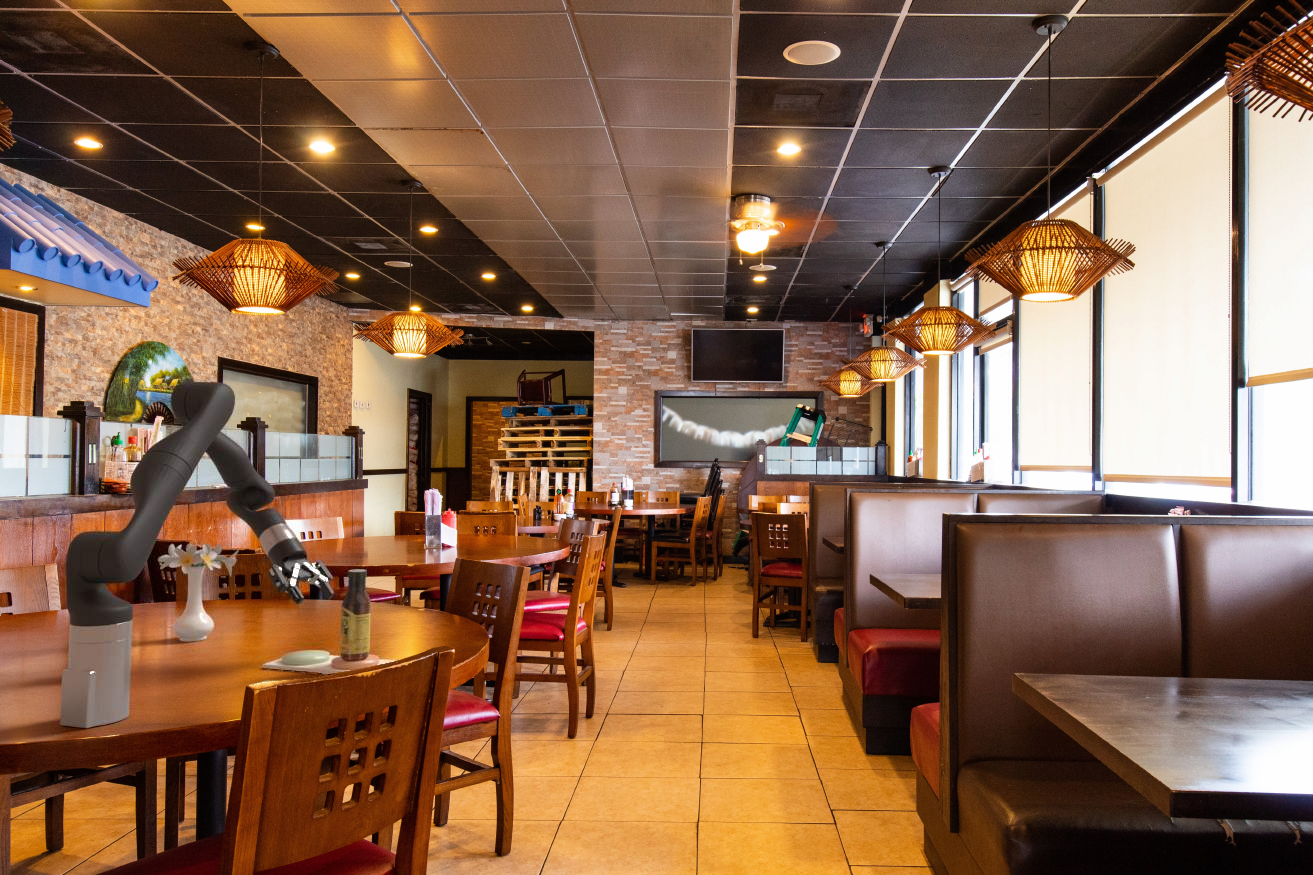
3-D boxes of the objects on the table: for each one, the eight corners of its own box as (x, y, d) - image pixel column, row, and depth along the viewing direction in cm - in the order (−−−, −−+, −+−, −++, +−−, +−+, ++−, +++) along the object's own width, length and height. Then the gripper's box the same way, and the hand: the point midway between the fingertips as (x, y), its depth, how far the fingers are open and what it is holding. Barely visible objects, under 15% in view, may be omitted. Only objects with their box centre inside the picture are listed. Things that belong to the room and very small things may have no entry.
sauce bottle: (339, 656, 183) (341, 568, 184) (368, 654, 185) (369, 567, 186) (341, 663, 177) (343, 572, 178) (371, 660, 180) (373, 570, 180)
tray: (364, 677, 173) (364, 667, 174) (262, 668, 180) (263, 658, 180) (395, 664, 185) (396, 655, 185) (299, 656, 192) (299, 647, 192)
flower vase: (240, 638, 211) (244, 542, 212) (159, 647, 199) (163, 546, 201) (228, 630, 221) (231, 539, 222) (150, 639, 209) (154, 542, 210)
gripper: (265, 538, 184) (299, 592, 179) (315, 534, 197) (348, 585, 191) (248, 560, 186) (281, 614, 180) (299, 555, 199) (331, 605, 193)
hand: (316, 599), depth 186 cm, fingers open, 8 cm apart
